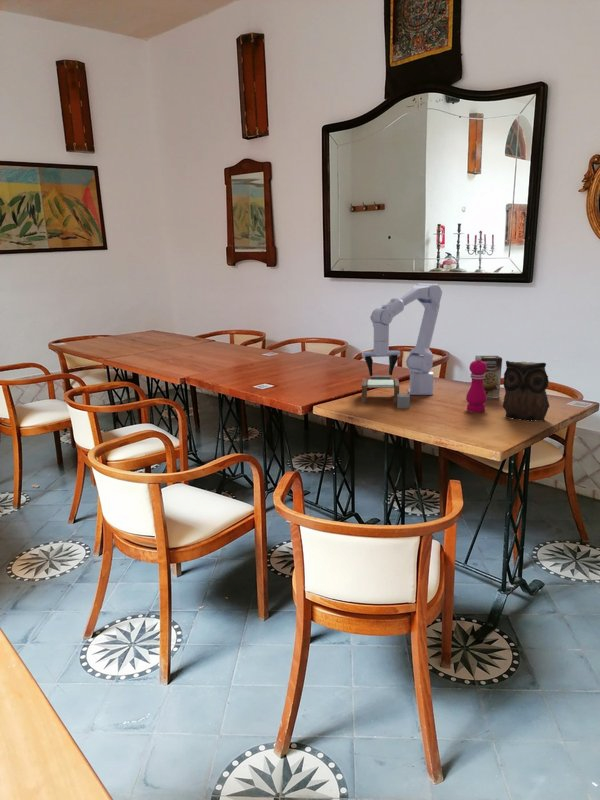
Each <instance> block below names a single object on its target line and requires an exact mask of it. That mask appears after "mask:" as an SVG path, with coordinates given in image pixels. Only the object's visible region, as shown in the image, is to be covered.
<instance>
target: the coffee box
mask: <svg viewBox="0 0 600 800" xmlns="http://www.w3.org/2000/svg"><path fill="white" fill-rule="evenodd" d="M477 356H478V355H475V356H474V357H475V359H474V361H475V360H476V357H477ZM479 356H480V357H481V361H483V362H485V363H486V365H487V370H486V372H485V373H484V374H485V378H484V379H483V388H484V390H485V393H486V396H487V399H493V398H492V397H499V398H500V393H501V381H502V380H501V379H502V368H503V367H502V366H503V357H501V356H499V355H479Z"/></svg>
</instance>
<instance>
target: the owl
mask: <svg viewBox="0 0 600 800" xmlns="http://www.w3.org/2000/svg"><path fill="white" fill-rule="evenodd" d="M505 364H506V365H505V366H506V367H505V368H506V369H505V371H504V374H503V388H504V393H505V394H504V397H503V402H502V408H503V409H504V410H505V411H504V412H505V415H504V417H505V416H506V417H505V418H507V419H510V418H513V419H512V420H519V419H521V420H520V421H527V420H529V421H528V422H536V421H535V420H541V421H545V417H546V416H547V413H548V410H549V408H550V403H549V399H548V395H547V391H546V390H547V388H548V387H549V382H550V381H549V376H548V374H547V371H546V366H547V363H546V362H534V361H529V362H528V361H509V360H506V361H505ZM531 420H532V421H531Z"/></svg>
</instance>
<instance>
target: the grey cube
mask: <svg viewBox="0 0 600 800" xmlns="http://www.w3.org/2000/svg"><path fill="white" fill-rule="evenodd" d="M410 401H411V395H410V394H409V393H399V394H397V404H396V408H397V409H410V408H411V407H410V403H411V402H410Z"/></svg>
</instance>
